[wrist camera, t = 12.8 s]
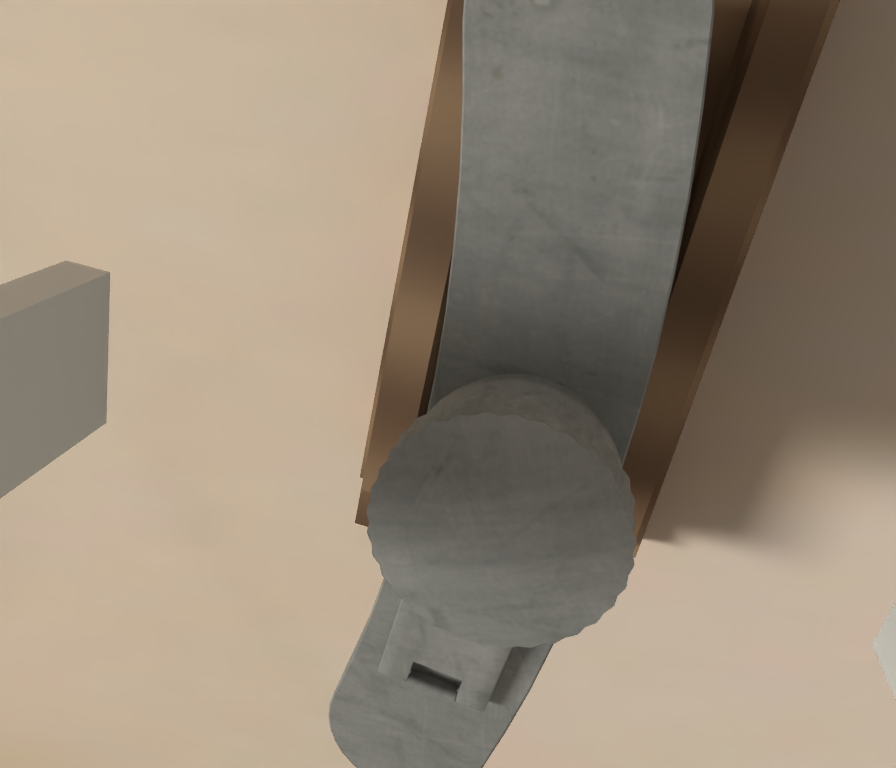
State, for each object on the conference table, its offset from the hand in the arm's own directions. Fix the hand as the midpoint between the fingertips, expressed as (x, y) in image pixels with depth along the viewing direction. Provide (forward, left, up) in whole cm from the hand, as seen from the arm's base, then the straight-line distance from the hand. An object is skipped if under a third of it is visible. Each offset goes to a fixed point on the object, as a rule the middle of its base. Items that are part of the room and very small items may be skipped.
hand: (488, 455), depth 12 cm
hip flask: (0, 0, -18) cm, 18 cm away
